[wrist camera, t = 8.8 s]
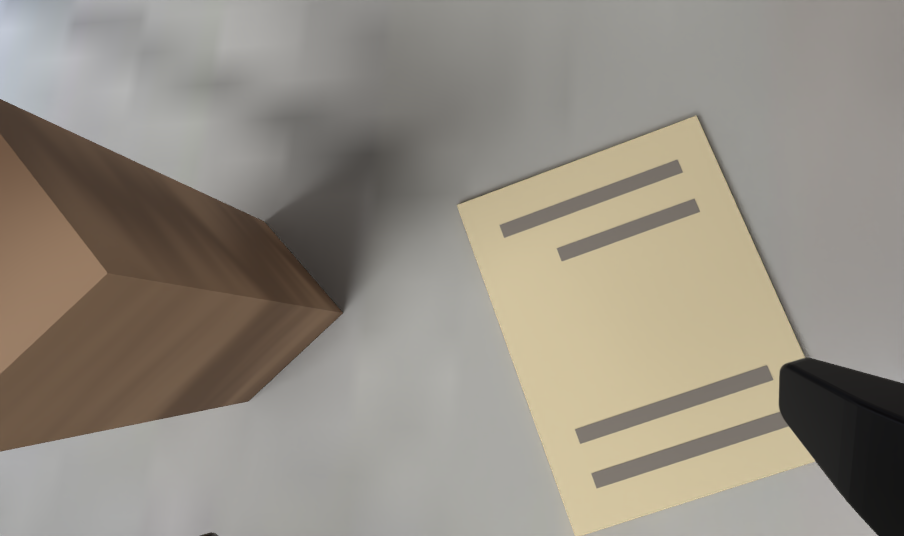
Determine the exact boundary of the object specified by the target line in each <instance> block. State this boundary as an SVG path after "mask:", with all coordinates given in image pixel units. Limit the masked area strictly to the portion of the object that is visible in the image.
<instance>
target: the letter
mask: <svg viewBox="0 0 904 536" xmlns="http://www.w3.org/2000/svg"><path fill="white" fill-rule="evenodd" d="M457 207H458V210H459V213H460V216H461V218H462V221H463V224H464V227H465V230H466V232H467V235H468V238H469V241H470V244H471V246H472V249H473V252H474V255H475V258H476V260H477V263H478V266H479V269H480V271H481V274H482V277H483V280H484V283H485V285H486V288H487V291H488V294H489V297H490V299H491V302H492V305H493V308H494V311H495V313H496V316H497V319H498V322H499V325H500V327H501V330H502V333H503V336H504V339H505V341H506V344H507V347H508V350H509V353H510V355H511V358H512V361H513V364H514V367H515V369H516V372H517V375H518V378H519V381H520V383H521V386H522V389H523V392H524V395H525V397H526V400H527V403H528V406H529V409H530V411H531V414H532V417H533V420H534V422H535V425H536V428H537V431H538V434H539V436H540V439H541V442H542V445H543V448H544V450H545V453H546V456H547V459H548V462H549V464H550V467H551V470H552V473H553V476H554V478H555V481H556V484H557V487H558V490H559V492H560V495H561V498H562V501H563V504H564V506H565V509H566V512H567V515H568V518H569V520H570V523H571V526H572V529H573V532H574V534H575V536H582V535H585V534H589V533H592V532H595V531H598V530H601V529H604V528H607V527H611V526H614V525H617V524H620V523H623V522H626V521H629V520H633V519H636V518H639V517H642V516H645V515H648V514H651V513H655V512H658V511H661V510H664V509H667V508H670V507H674V506H677V505H680V504H683V503H686V502H689V501H692V500H696V499H699V498H702V497H705V496H708V495H711V494H714V493H718V492H721V491H724V490H727V489H730V488H733V487H736V486H740V485H743V484H746V483H749V482H752V481H755V480H758V479H762V478H765V477H768V476H771V475H774V474H777V473H781V472H784V471H787V470H790V469H793V468H796V467H799V466H803V465H806V464H809V463H812V462H815V460H814V459H813V457H812V456H811V455H810V453H809V452H808V451H807V449H806V448H805V447H804V446H803V444H802V443H801V442H800V440H799V439H798V438H797V436H796V435H795V434H794V433H793V431H792V430H791V429H790V427H789V426H788V425H787V423H786V422H785V421H784V419H783V417H782V415H781V413H780V410H779V372H780V369H781V367H782V365H784V364H785V363H788V362H792V361H795V360H799V359H802V358H805V357H804V354H803V352H802V350H801V348H800V345H799V343H798V341H797V339H796V337H795V334H794V332H793V330H792V328H791V325H790V323H789V321H788V319H787V316H786V314H785V312H784V310H783V308H782V305H781V303H780V301H779V299H778V296H777V294H776V292H775V290H774V287H773V285H772V283H771V281H770V279H769V276H768V274H767V272H766V270H765V267H764V265H763V263H762V261H761V258H760V256H759V254H758V252H757V250H756V247H755V245H754V243H753V241H752V238H751V236H750V234H749V232H748V229H747V227H746V225H745V223H744V221H743V218H742V216H741V214H740V212H739V209H738V207H737V205H736V203H735V200H734V198H733V196H732V194H731V192H730V189H729V187H728V185H727V183H726V180H725V178H724V176H723V174H722V171H721V169H720V167H719V165H718V163H717V160H716V158H715V156H714V154H713V151H712V149H711V147H710V145H709V142H708V140H707V138H706V136H705V134H704V131H703V129H702V127H701V125H700V122H699V120H698V118H697V116H694V117H691V118H689V119H686V120H683V121H681V122H678V123H675V124H673V125H670V126H667V127H664V128H662V129H659V130H656V131H654V132H651V133H648V134H646V135H643V136H640V137H638V138H635V139H632V140H630V141H627V142H624V143H622V144H619V145H616V146H614V147H611V148H608V149H606V150H603V151H600V152H598V153H595V154H592V155H590V156H587V157H584V158H582V159H579V160H576V161H574V162H571V163H568V164H566V165H563V166H560V167H558V168H555V169H552V170H550V171H547V172H544V173H542V174H539V175H536V176H534V177H531V178H528V179H525V180H523V181H520V182H517V183H515V184H512V185H509V186H507V187H504V188H501V189H499V190H496V191H493V192H491V193H488V194H485V195H483V196H480V197H477V198H475V199H472V200H469V201H467V202H464V203H461V204H459V205H457Z"/></svg>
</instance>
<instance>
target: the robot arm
mask: <svg viewBox="0 0 904 536" xmlns="http://www.w3.org/2000/svg"><path fill="white" fill-rule="evenodd" d="M779 410H780V413H781V415H782V417H783V419H784V421H785V422H786V423H787V425H788V426H789V427H790V429H791V430H792V431H793V433H794V434H795V435H796V436H797V438H798V439H799V440H800V442H801V443H802V444H803V446H804V447H805V448H806V449H807V451H808V452H809V453H810V455H811V456H812V457H813V459H814V460H815V461H816V462H817V464H818V465H819V466H820V468H821V469H822V470H823V472H824V473H825V474H826V475H827V477H828V478H829V479H830V481H831V482H832V483H833V485H834V486H835V487H836V488H837V490H838V491H839V492H840V493H841V495H842V496H843V497H844V498H845V499H846V501H847V502H848V503H849V504H850V505H851V506H852V508H853V509H854V510H855V511H856V512H857V513H858V514H859V515H860V517H861V518H862V519H863V520H864V521H865V522H866V523H867V524H868V525H869V526H870V527H871V528H872V529H873V531H874V532H875V533H876V534H877V535H878V536H904V383H900V382H896V381H893V380H889V379H885V378H882V377H878V376H874V375H871V374H867V373H863V372H860V371H856V370H852V369H849V368H845V367H841V366H838V365H834V364H830V363H827V362H823V361H819V360H816V359H812V358H802V359H799V360H795V361H792V362H788V363H785V364H784V365H782V367H781V369H780V372H779ZM201 536H218V535H217V534H216V533H207V534H204V535H201Z"/></svg>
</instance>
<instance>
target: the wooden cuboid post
mask: <svg viewBox="0 0 904 536" xmlns="http://www.w3.org/2000/svg"><path fill="white" fill-rule="evenodd" d="M342 314H343V312H342V311H341V310H340V309H339V308H338V307H337V305H336V304H335V303H334V302H333V301H332V300H331V298H330V297H329V296H328V295H327V294H326V293H325V291H324V290H323V289H322V288H321V287H320V286H319V285H318V283H317V282H316V281H315V280H314V279H313V278H312V276H311V275H310V274H309V273H308V272H307V271H306V269H305V268H304V267H303V266H302V265H301V264H300V262H299V261H298V260H297V259H296V258H295V257H294V256H293V254H292V253H291V252H290V251H289V250H288V249H287V247H286V246H285V245H284V244H283V243H282V242H281V240H280V239H279V238H278V237H277V236H276V235H275V233H274V232H273V231H272V230H271V229H270V228H269V227H268V225H267V224H266V223H265V222H264V221H262V220H260V219H258V218H255V217H253V216H251V215H249V214H247V213H245V212H243V211H240V210H238V209H236V208H234V207H232V206H230V205H227V204H225V203H223V202H221V201H219V200H217V199H215V198H212V197H210V196H208V195H206V194H204V193H202V192H199V191H197V190H195V189H193V188H191V187H189V186H186V185H184V184H182V183H180V182H178V181H176V180H174V179H171V178H169V177H167V176H165V175H163V174H161V173H158V172H156V171H154V170H152V169H150V168H148V167H146V166H143V165H141V164H139V163H137V162H135V161H133V160H130V159H128V158H126V157H124V156H122V155H120V154H117V153H115V152H113V151H111V150H109V149H107V148H105V147H102V146H100V145H98V144H96V143H94V142H92V141H89V140H87V139H85V138H83V137H81V136H79V135H77V134H74V133H72V132H70V131H68V130H66V129H64V128H61V127H59V126H57V125H55V124H53V123H51V122H48V121H46V120H44V119H42V118H40V117H38V116H36V115H33V114H31V113H29V112H27V111H25V110H23V109H20V108H18V107H16V106H14V105H12V104H10V103H8V102H5V101H3V100H1V99H0V451H5V450H10V449H15V448H20V447H25V446H30V445H35V444H40V443H45V442H50V441H55V440H60V439H65V438H70V437H75V436H79V435H84V434H89V433H94V432H99V431H104V430H109V429H114V428H119V427H124V426H129V425H134V424H139V423H144V422H149V421H154V420H159V419H164V418H168V417H173V416H178V415H183V414H188V413H193V412H198V411H203V410H208V409H213V408H218V407H223V406H228V405H233V404H238V403H243V402H248V401H249V400H250V399H251V398H253V397H254V396H255V395H256V394H257V393H258V392H259V391H260V390H261V389H262V388H263V387H264V386H265V385H266V384H268V383H269V382H270V381H271V380H272V379H273V378H274V377H275V376H276V375H277V374H278V373H279V372H280V371H281V370H283V369H284V368H285V367H286V366H287V365H288V364H289V363H290V362H291V361H292V360H293V359H294V358H295V357H296V356H298V355H299V354H300V353H301V352H302V351H303V350H304V349H305V348H306V347H307V346H308V345H309V344H310V343H311V342H313V341H314V340H315V339H316V338H317V337H318V336H319V335H320V334H321V333H322V332H323V331H324V330H325V329H326V328H328V327H329V326H330V325H331V324H332V323H333V322H334V321H335V320H336V319H337V318H338V317H339V316H340V315H342Z"/></svg>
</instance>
